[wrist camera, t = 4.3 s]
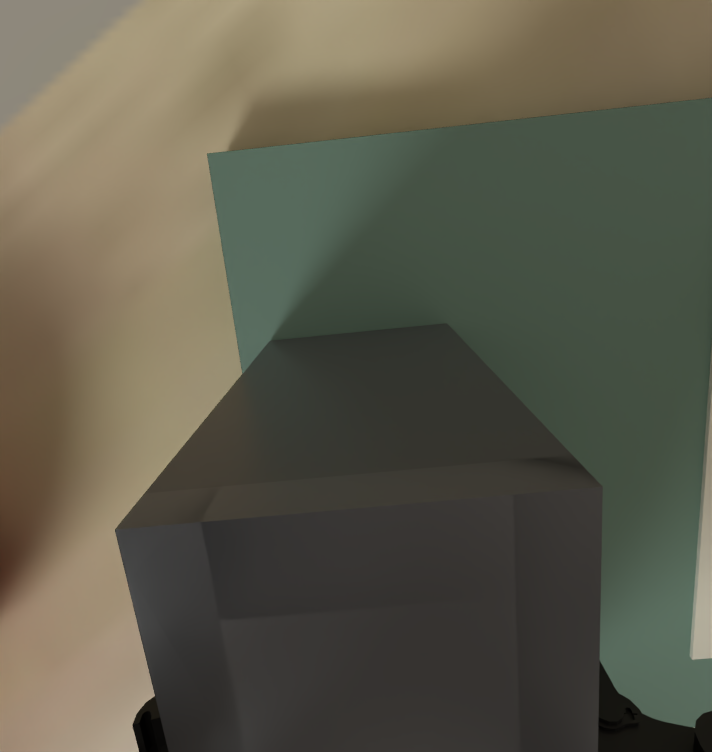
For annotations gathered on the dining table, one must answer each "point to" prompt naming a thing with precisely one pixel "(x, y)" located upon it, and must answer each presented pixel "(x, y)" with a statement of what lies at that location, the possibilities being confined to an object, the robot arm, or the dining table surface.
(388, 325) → the board
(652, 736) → the robot arm
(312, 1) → the dining table surface
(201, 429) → the housing
